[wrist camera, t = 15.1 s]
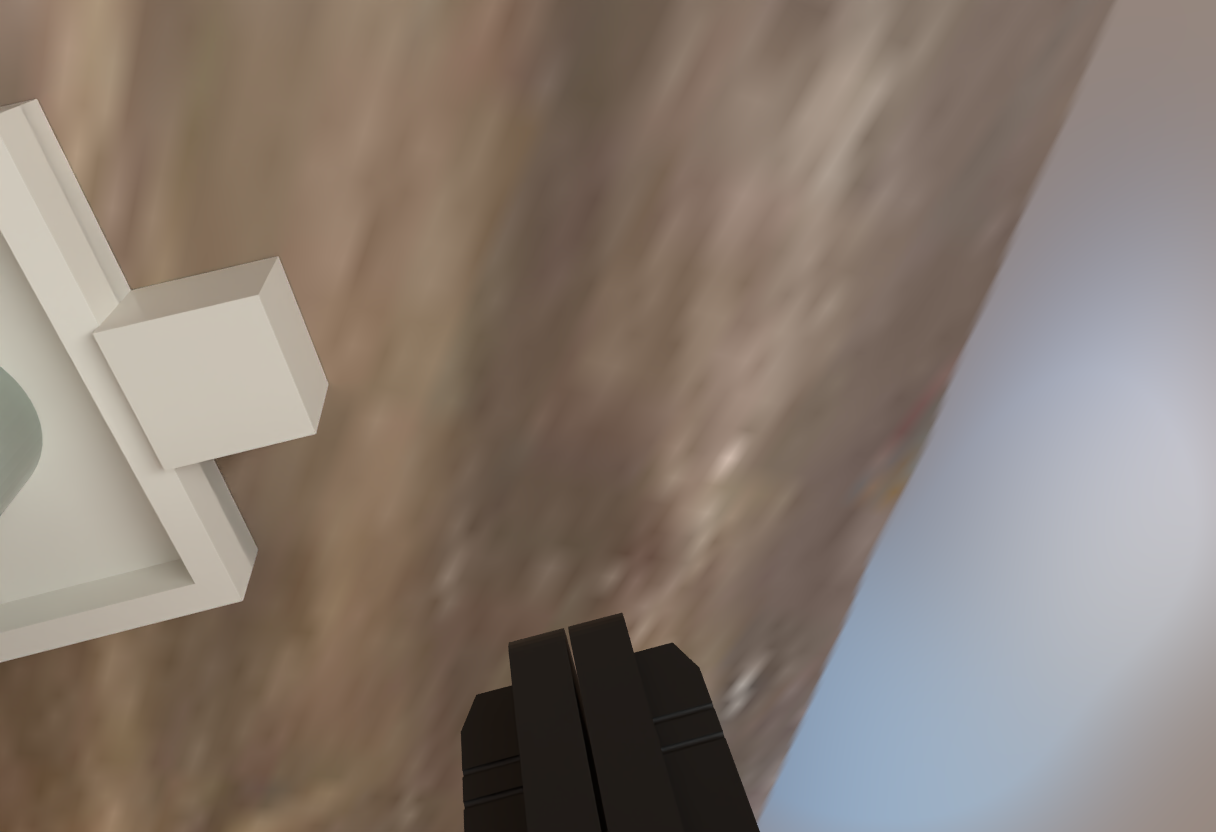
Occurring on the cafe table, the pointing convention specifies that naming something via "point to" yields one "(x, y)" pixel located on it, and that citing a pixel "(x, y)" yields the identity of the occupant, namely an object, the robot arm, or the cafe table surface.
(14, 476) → the pale green rounded cylinder
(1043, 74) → the cafe table surface
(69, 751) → the cafe table surface
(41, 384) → the tray
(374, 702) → the cafe table surface
